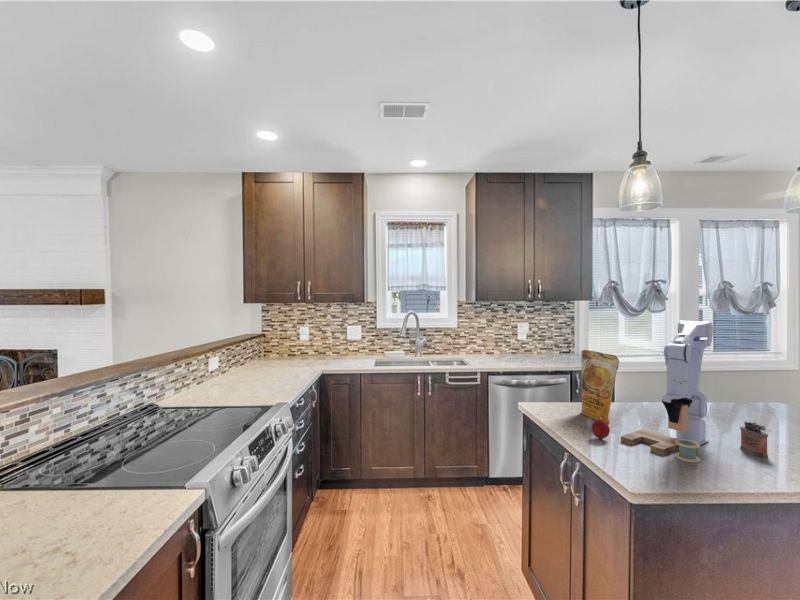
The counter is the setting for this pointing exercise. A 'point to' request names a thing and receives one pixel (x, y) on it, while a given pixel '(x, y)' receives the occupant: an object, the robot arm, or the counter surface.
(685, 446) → the spool
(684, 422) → the peg
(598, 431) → the onion
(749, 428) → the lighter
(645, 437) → the notched board
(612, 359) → the pancake mix bag
